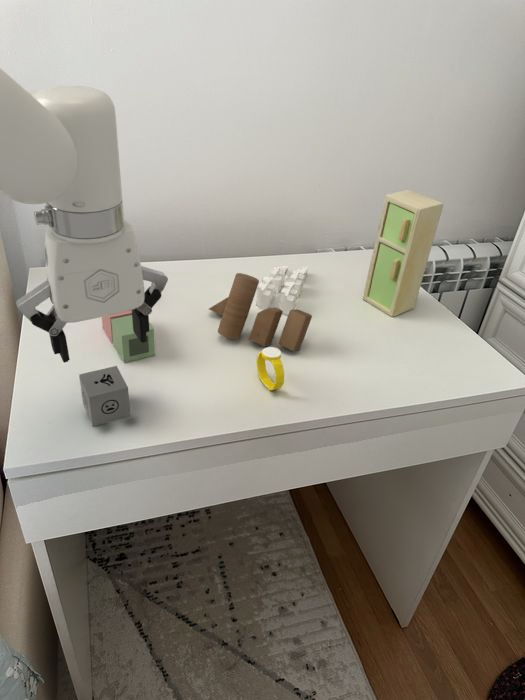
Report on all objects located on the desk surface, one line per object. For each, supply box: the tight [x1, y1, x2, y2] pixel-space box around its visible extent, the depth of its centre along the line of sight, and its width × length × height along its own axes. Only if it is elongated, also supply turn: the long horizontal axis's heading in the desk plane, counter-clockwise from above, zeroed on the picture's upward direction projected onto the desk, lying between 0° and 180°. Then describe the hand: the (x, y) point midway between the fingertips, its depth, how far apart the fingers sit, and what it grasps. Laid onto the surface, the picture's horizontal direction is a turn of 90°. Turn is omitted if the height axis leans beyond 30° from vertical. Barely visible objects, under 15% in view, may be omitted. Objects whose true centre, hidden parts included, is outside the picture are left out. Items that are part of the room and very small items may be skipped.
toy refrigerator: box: [362, 189, 444, 317], centre depth 97 cm, size 8×7×21 cm
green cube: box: [111, 315, 156, 364], centre depth 83 cm, size 5×5×5 cm
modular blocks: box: [255, 265, 309, 316], centre depth 104 cm, size 20×7×4 cm, turn 165°
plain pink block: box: [101, 310, 132, 345], centre depth 86 cm, size 5×5×5 cm
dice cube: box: [78, 365, 131, 427], centre depth 71 cm, size 5×5×5 cm
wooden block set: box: [208, 272, 313, 352], centre depth 88 cm, size 18×9×10 cm, turn 59°
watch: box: [256, 346, 285, 392], centre depth 78 cm, size 6×3×6 cm, turn 28°
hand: (103, 346), depth 67 cm, fingers open, 9 cm apart
